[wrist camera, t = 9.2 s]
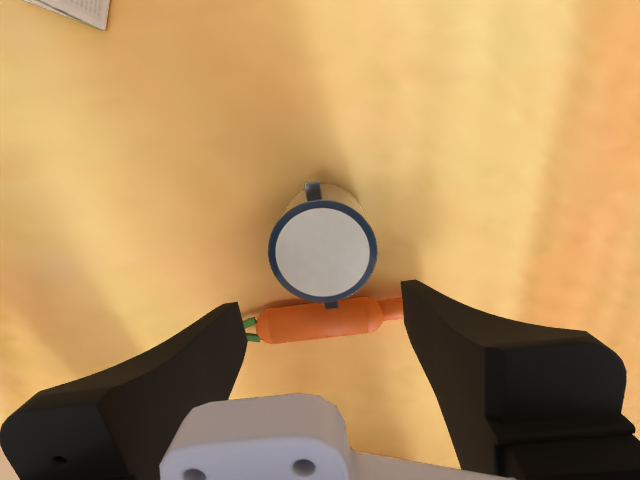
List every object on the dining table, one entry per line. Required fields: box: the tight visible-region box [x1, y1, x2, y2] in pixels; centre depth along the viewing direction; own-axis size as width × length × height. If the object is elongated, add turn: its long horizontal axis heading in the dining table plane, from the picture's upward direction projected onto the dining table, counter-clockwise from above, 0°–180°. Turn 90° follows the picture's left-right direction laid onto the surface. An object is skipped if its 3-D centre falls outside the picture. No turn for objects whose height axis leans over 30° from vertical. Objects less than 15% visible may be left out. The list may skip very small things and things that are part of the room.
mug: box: [268, 180, 377, 309], centre depth 18 cm, size 6×7×7 cm
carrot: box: [243, 297, 404, 344], centre depth 22 cm, size 16×3×3 cm, turn 99°
